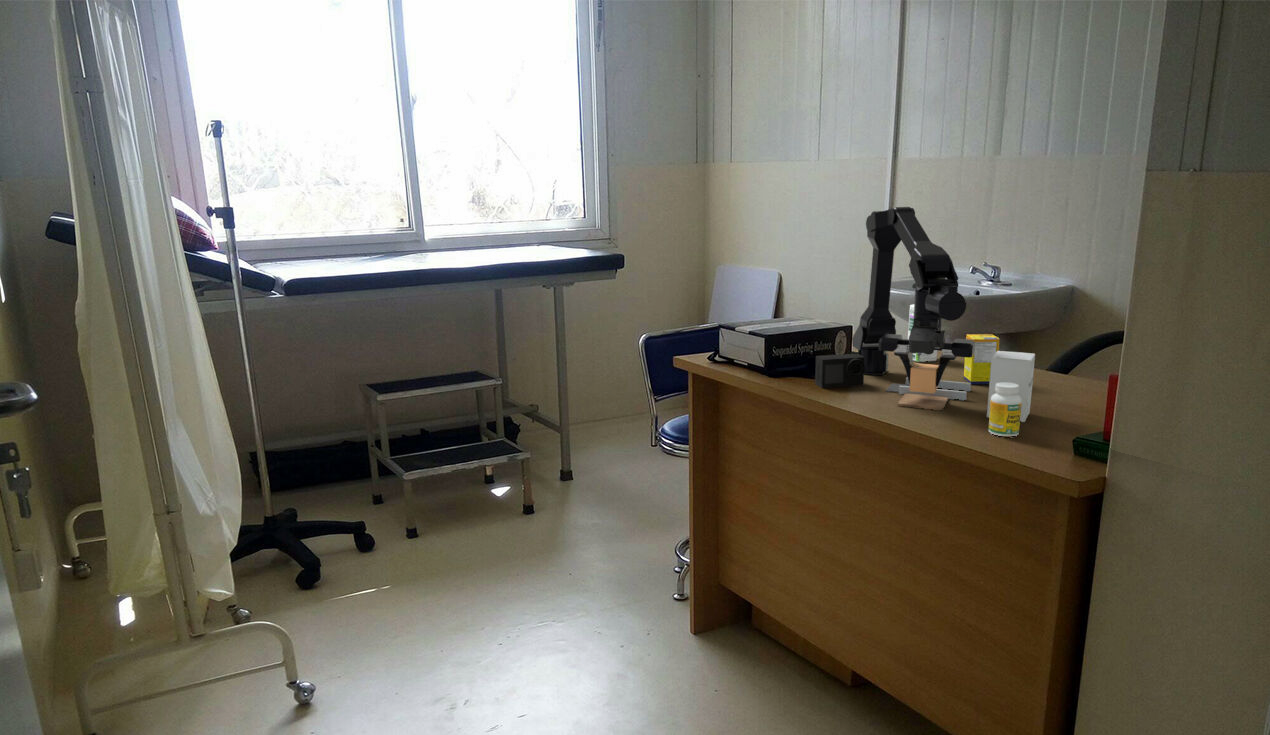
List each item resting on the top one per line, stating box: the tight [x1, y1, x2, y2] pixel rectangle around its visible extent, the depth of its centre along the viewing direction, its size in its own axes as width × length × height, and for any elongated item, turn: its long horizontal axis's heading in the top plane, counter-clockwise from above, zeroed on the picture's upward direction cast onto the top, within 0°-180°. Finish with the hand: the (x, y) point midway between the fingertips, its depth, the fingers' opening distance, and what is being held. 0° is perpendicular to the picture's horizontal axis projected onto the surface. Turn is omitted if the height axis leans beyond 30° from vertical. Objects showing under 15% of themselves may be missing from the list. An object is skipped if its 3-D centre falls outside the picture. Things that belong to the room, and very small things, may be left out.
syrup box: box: [907, 304, 938, 363], centre depth 216 cm, size 6×6×14 cm
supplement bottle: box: [988, 382, 1022, 437], centre depth 154 cm, size 5×5×10 cm
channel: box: [898, 377, 972, 401], centre depth 185 cm, size 14×9×2 cm, turn 62°
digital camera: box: [814, 353, 865, 389], centre depth 192 cm, size 10×5×7 cm, turn 99°
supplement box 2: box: [986, 350, 1036, 423], centre depth 165 cm, size 7×7×13 cm
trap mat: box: [885, 382, 910, 394], centre depth 189 cm, size 5×7×1 cm
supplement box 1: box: [963, 333, 1000, 385], centre depth 192 cm, size 6×6×11 cm
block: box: [910, 362, 939, 393], centre depth 176 cm, size 5×5×5 cm
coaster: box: [897, 393, 949, 411], centre depth 177 cm, size 9×9×1 cm
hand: (923, 384), depth 176 cm, fingers closed on block, 5 cm apart
